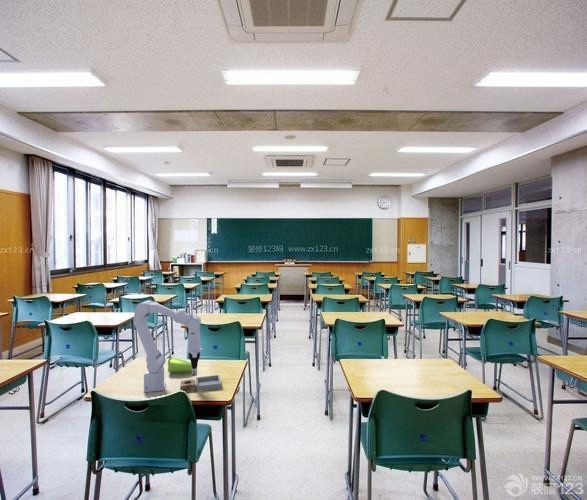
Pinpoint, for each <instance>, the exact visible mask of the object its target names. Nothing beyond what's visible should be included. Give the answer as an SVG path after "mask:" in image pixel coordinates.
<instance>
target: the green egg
mask: <svg viewBox="0 0 587 500" xmlns="http://www.w3.org/2000/svg"><path fill="white" fill-rule="evenodd" d="M167 367H168V368H167V372H168V373H170V374H171V373H173V374H186V373H192V365H191V361H190V362H189V361H187V360H183V359H180V358H177V357H170V358H169V359H168V360H167Z"/></svg>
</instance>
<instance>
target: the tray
mask: <svg viewBox="0 0 587 500" xmlns="http://www.w3.org/2000/svg"><path fill="white" fill-rule="evenodd" d="M218 389H219V390H220V389H222V381H221V377H220V374H215V375H214V374H212V375H206V376H198V377H197V376H195V392H202V391H203V392H204V391H210V390H218Z"/></svg>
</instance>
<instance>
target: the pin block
mask: <svg viewBox="0 0 587 500" xmlns="http://www.w3.org/2000/svg"><path fill="white" fill-rule="evenodd" d="M179 388H180V390H183V391H186V392H192V391H196V378H193V379H184V380H183V379H182V380H180V387H179ZM180 390H179V391H180Z"/></svg>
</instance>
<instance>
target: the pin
mask: <svg viewBox="0 0 587 500" xmlns="http://www.w3.org/2000/svg"><path fill="white" fill-rule="evenodd" d="M191 376H192V377H197V376H198V368H197V369H192V372H191Z"/></svg>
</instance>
